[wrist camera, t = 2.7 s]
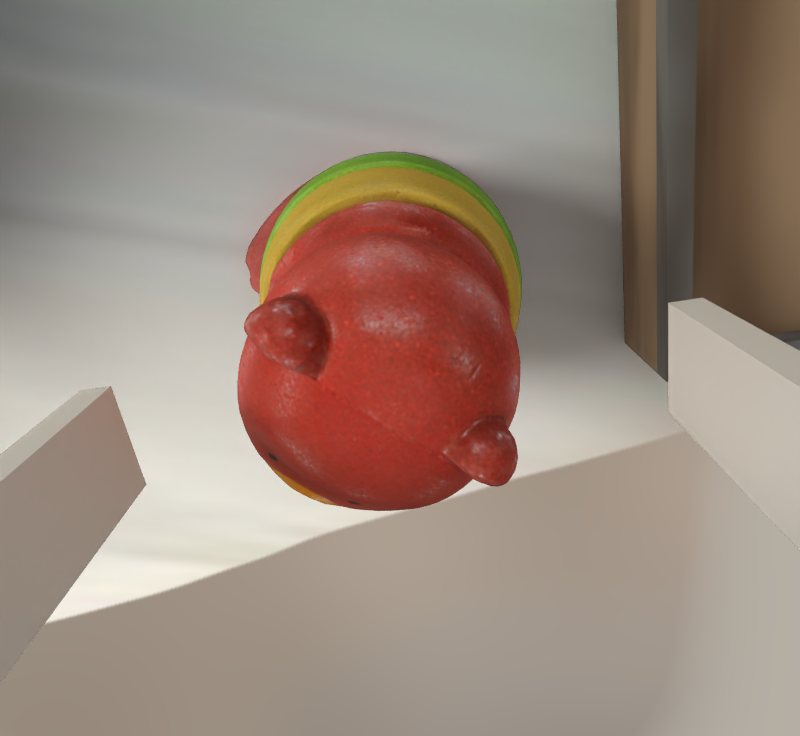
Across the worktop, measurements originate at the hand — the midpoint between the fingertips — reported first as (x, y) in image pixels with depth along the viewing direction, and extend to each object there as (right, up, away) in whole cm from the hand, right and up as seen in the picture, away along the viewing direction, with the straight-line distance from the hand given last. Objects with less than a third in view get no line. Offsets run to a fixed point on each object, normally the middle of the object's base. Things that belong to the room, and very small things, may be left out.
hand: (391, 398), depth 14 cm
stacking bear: (0, +6, +15) cm, 16 cm away
